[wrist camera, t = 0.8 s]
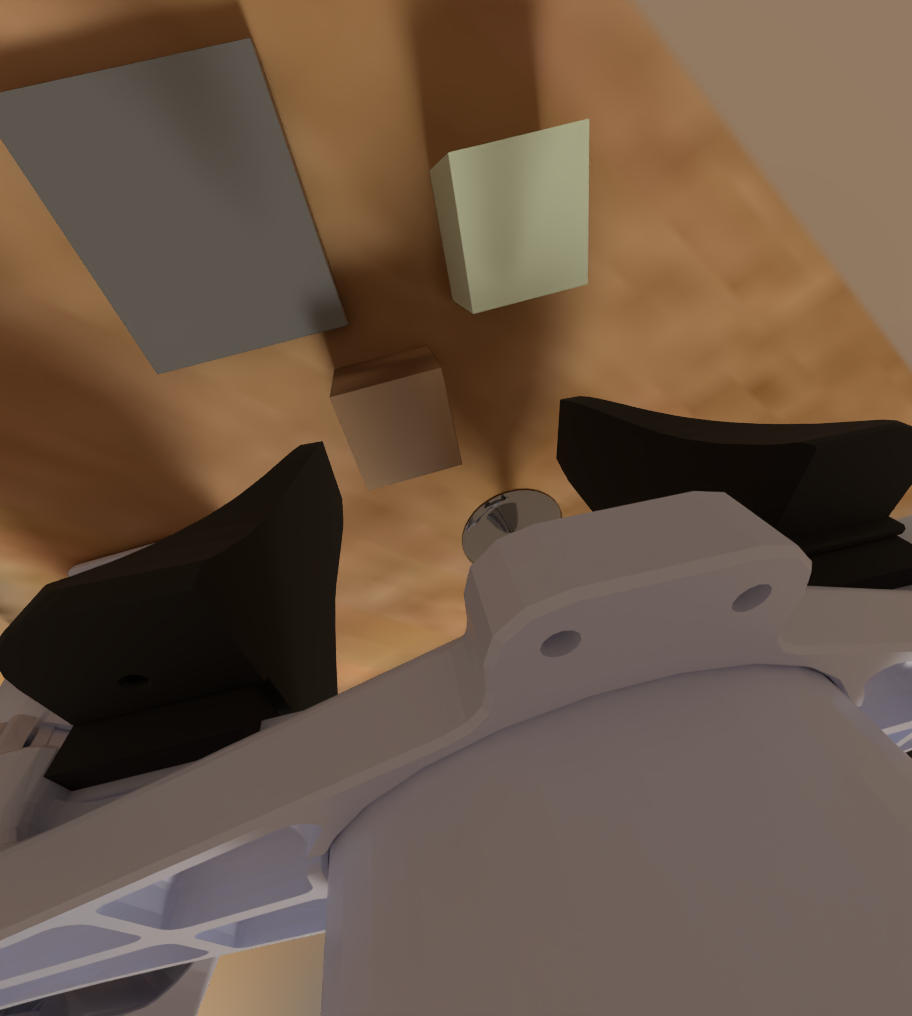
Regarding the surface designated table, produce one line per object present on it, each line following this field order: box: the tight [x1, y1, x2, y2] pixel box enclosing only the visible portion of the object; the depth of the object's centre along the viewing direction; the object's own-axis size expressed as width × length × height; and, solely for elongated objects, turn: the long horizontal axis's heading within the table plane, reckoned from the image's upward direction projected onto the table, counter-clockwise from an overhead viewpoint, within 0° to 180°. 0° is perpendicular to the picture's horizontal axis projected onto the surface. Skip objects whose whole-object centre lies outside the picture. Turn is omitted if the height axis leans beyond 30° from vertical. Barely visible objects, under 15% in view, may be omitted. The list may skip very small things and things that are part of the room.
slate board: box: [0, 38, 348, 374], centre depth 14 cm, size 8×8×1 cm
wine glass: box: [462, 490, 562, 563], centre depth 20 cm, size 8×8×15 cm
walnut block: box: [330, 346, 462, 491], centre depth 18 cm, size 4×4×4 cm
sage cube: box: [429, 119, 589, 314], centre depth 15 cm, size 4×4×4 cm
